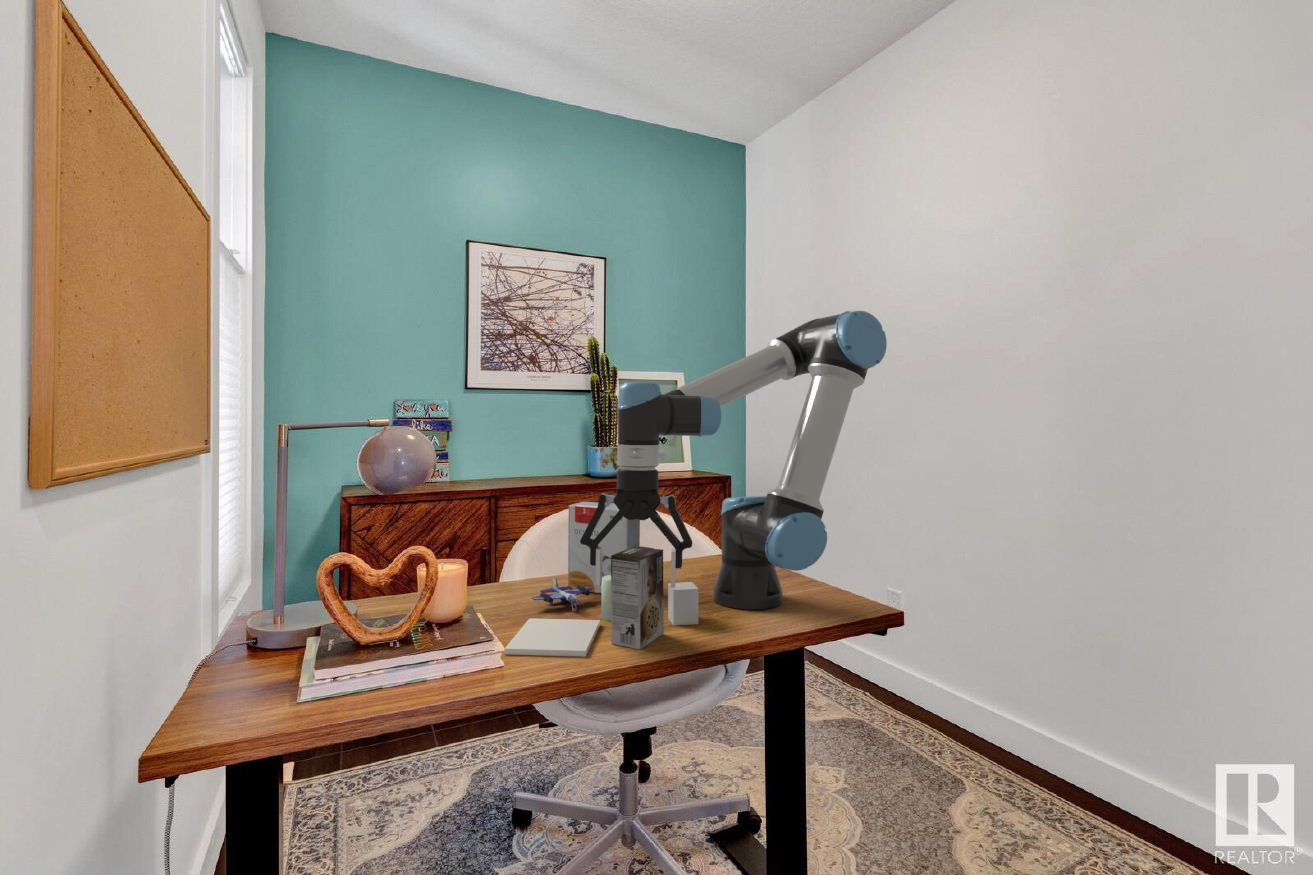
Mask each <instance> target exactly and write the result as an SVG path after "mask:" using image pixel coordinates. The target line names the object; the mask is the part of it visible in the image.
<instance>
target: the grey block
mask: <svg viewBox="0 0 1313 875" xmlns="http://www.w3.org/2000/svg"><path fill="white" fill-rule="evenodd" d="M699 589H700V588H699V587H698V586H697V585H695V583H694V582H692V581H688V582H687V581H686V582H685V581H684V582H676V583H675V588H671V582H669V583H667V618H668V620H669V622H670V623H671V624H672V626H688V625H699V593H700V592H699Z"/></svg>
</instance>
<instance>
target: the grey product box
mask: <svg viewBox="0 0 1313 875" xmlns="http://www.w3.org/2000/svg"><path fill="white" fill-rule="evenodd" d="M664 609H665V608H664V549H660V548H659V549H658V548H654V547H649V546H642V545H641V546H634V547H631V548H629V549H626V550H624V551H621V552H619V553H616V554H614V555H611V621H610V622H611V623H610V628H611V629H610V631H611V632H610V633H611V634H610V636H611V637H610V638H611V640H610V643H611V644H612V645H617V646H622V647H624V648H625V647H626V648H631V649H636V650H643V649H644V648H645V647H646V646H648V645H649V644H651V643H652V642H653V641H655V640H656V639H658V638H660V637H661V636H662V635H664V633H665V632H664V629H665V627H664V624H665V623H664V622H665V621H664V618H665V616H664V614H665V613H664V611H665V610H664Z"/></svg>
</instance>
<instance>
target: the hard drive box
mask: <svg viewBox="0 0 1313 875" xmlns="http://www.w3.org/2000/svg"><path fill="white" fill-rule="evenodd" d="M597 507H598V502H594V501H581V502H576V503H573V504H570V505H568V534H567V535H568V541H567V542H568V544H567V545H568V550H567V553H568V558H567V560H568V562H567V564H568V566H567V567H568V568H567V569H568V571H567V572H568V573H567V576H568V578H567V580H568V581H567V586H570V587H572V588H571V589H570V590H573V589H576V587H577V586H582V587H590V588H592V590H590V593H597V594H601V584H600V585H595V584H596V566H591V564H590V548H589V547H588V546H586V545H582V544H581V543H580V540H581V538H582V536H583V534H584V532H585V530H586V528H587V526H588V524H589V523H590V521H591V519H592V517H593V515H594V513H595V511H596V509H597ZM618 512H619V509H618V508H617V506H616V505H615V503H610V505H609V506H608V507H606V508H605V510H604V512H603V514H602V516H601V518H600V520H599V521H598V523H597V525H596V527H595V529H594V531H593V533H592V535H591V537H590V538H591V539H595V538H596V537H597V535H598V534H599V533H600V532H601V531H602V530H603V529H604V527H605V526H606V525H607V524H608V523H609V522H610V521H611V520H612V518H613V517H614V516H615V515H616V514H617V513H618ZM640 527H641V520H638V519H634V520H628V519H626V518H625V517H624V516H623V517H622V518H621V520H620V521H619V522H618V523H617V524H616V525H615V526H614V527H613V529H612V530H611V531H610V532H609V533H608V534H607V535H606V536H605V538H604V539H603V540H602V541H601V542H600V543H599V544H598V546H602V577H604V576H608V575H611V555H614V554H616V553H619V552H621V551H624V550H626V549H629V548H631V547H634V546H640V544H641V543H640V542H641V541H640V539H641V538H640V537H641V536H640V535H641V528H640Z"/></svg>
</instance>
